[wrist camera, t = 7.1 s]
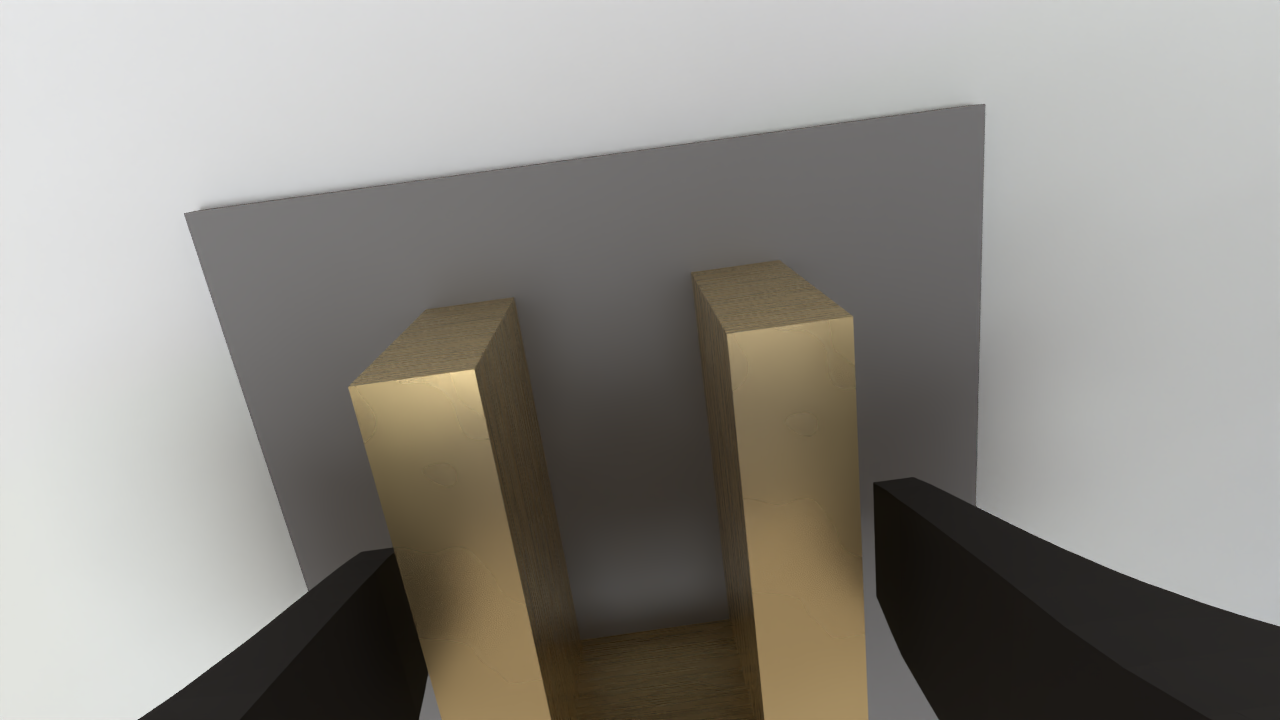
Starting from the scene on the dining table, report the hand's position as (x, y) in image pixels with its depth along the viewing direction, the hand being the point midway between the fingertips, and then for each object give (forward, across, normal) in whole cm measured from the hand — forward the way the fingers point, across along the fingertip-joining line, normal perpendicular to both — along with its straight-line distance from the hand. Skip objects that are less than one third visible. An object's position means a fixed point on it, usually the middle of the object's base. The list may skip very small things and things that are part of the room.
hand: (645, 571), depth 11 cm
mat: (+2, 0, 0) cm, 2 cm away
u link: (+2, 0, 0) cm, 2 cm away
